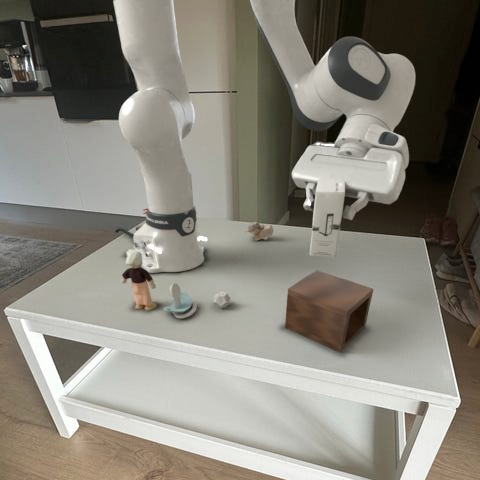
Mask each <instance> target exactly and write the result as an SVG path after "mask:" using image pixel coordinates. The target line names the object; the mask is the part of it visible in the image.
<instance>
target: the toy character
mask: <svg viewBox="0 0 480 480" xmlns="http://www.w3.org/2000/svg"><path fill="white" fill-rule="evenodd" d="M248 232H249V233H250V234H251V236H254V240H255V241H260V240H264V241H266V240H268V239H269V237H271V236H273V233H274V228H273V225H272V224H268V225H264V224H261V225H260V223H259V222H258V221H253V222H250V223H249V224H248V228H246V229H244V233H248Z"/></svg>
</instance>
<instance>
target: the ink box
mask: <svg viewBox="0 0 480 480" xmlns="http://www.w3.org/2000/svg"><path fill="white" fill-rule="evenodd" d="M345 197H346V196H345V181H339V180H331V179H319V180H318V184H317V188H316V194H315V195H314V200H315V203H314V210H313V212H312V213H313V214H312V224H311V236H310V248H309V256H310V257H311V256H312V257H324V258H336V257H337V251H338V243H339V237H340V231H341V224H342V218H343V216H342V213H343V211H344V204H345V203H344V202H345Z"/></svg>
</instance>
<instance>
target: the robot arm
mask: <svg viewBox="0 0 480 480" xmlns="http://www.w3.org/2000/svg"><path fill="white" fill-rule="evenodd" d="M249 1H250V5H251V8H252V12H253V15H254V19H255V22H256V24H257V27H258V29H259V32H260V34H261V36H262V38H263V40H264V42H265V45H266V47H267V50H268V51H269V53H270V55H271V58H272V59H273V61H274V63H275V65H276V67H277V69H278V72H279V74H280V75H281V78H282V80H283V82H284V84H285V86H286V88H287V92H288V94H289V95H288V96H289V99H290V103H291V108H292V111H293V114H294V116H295V118H296V119H297V121H298V122H299V123H300V125H302V126H303V127H304V128H306V129H308V130H311V131H313V132H322V131H326V130H328V129H329V128H331V127H332V126H333V125H334V124H335V123H336V122H337V121H338V120H339V119H340V118H341V117H342V116H343V115H345V117H346V120H345V122H344V124H343V126H342V128H341V130H340V132H339V134H338V136H337V138H336V140H335V141H334V142H323V141H316V142H315V143H313V144H310V145H308V146H307V147H306V149H305V151H304V152H303V154H302V155H301V156H300V158H299V160H298V161H297V162H296V164H295V166H294V167H293V168H292V171H291V178H292V180H293V182H294V184H295V186H296V187H298V188H299V189H305V195H306V196H305V197H306V199H305V201H304V202H303V209H304V210H305V211H309V212H314V203H315V198H314V196H315V194H316V188H317V184H318V180H319V179H331V180H339V181H345V196H344V197H348V198H353V199H357V200H355V201H354V202H353V203H352V204H351V205H345V207H344V209H343V211H342V218H343V219H346V220H349V221H353V219H354V218H355V215H356V213H358V212H359V211H360V210H362V209H363V208H365V207H366V206H367V205H368V203H369V202H373V203H374V202H375V203H381V204H385V205H392V204H393V203H394V202H396V201H397V200H398V199H399V196H400V194H401V192H402V190H403V186H404V184H405V181H406V169H407V168H408V166H409V162H410V153H409V147H408V143H407V139H406V138H405V136H403V135H400V134H399V133H398V134H397V133H396V132H394V131H395V128H396V127H397V126H398V125H399V124H400V122H401V121H402V119H403V116H404V115H405V113H406V111H407V108H408V106H409V104H410V101H411V98H412V96H413V93H414V90H415V86H416V70H415V67H414V64H413V63H412V62H411V60H409V59H408V58H407V57H406V56H405V55H402V54H399V53H389V54H388V53H387V54H384V53H381V52H379V51H377V50H376V49H375V48H374V47H373V46H372V45H370V44H369V42H367V41H366V40H364V39H362V38H361V37H360V38H359V37H356V36H344V37H341V38H339V39H337V41H335V42H334V43H333V45H332V46H331V47H330V48H329V49H328V50H327V51H326V53H325V54H324V55H323V56H322V57H321V58H320V60H319V61H318V63H317V64H316V65H315V64H314V62H313V59H312V58H311V55H310V53H309V51H308V48H307V46H306V44H305V42H304V39H303V37H302V35H301V33H300V31H299V28H298V25H297V21H296V16H295V15H296V14H295V3H296V0H249ZM112 2H113V8H114V12H115V13H114V14H115V18H116V19H115V20H116V24H117V29H118V35H119V41H120V46H121V50H122V54H123V56H124V59H125V60H126V62H127V63H128V66H130V69H131V71H132V73H133V76H134V79H135V82H136V84H137V88H138V91H136V92H135V93H133V94H132V95H131V96H129V97H128V98H127V99H126V100H125V101H124V102H123V104H122V105H121V107H120V110H119V113H118V124H119V129H120V131H121V134H122V136H123V138H124V140H126V142H127V143H128V144H129V145H130V146H131V147H132V151H133V153H134V155H135V158H136V160H137V163H138V165H139V169H140V171H141V175H142V178H143V183H144V189H145V196H146V203H147V208H144V209H142V211H143V213H142V214H143V215H145V222H144V224H141V225H139V226H136V227H135V232H134V233H132V232H130V231H128V230H127V229H125V228H122V227H117V228H116V229H115V230H114V233H117V234H118V233H119V232H123V233H124V234H125V235H127V236H129V237H131V238H133V240H132V241H133V247H131V248H129V249H128V250H127V251H126V252H125V253H126V257H127V256H128V254H129V253H130V252H132V251H135V250H136V251H139V252H140V253H141V254H142V257H143V258H142V266H141V268H143V269H145V270H147V271H148V273H149V274H156V273H177V272H178V273H179V272H186V271H189V270H193V269H195V268H197V267H199V266H200V265H202V264H203V263H204V261H205V256H204V253H205V248H204V246H202V242H201V241H204V242H207V241H208V238H207V237H206V236H201V235H200V230H199V225H198V223H197V221H198V219H197V209H196V206H195V205H194V194H193V181H192V172H191V170H190V169H189V167H188V165H187V162H186V157H185V154H184V152H183V145H182V140H184V139H185V138H186V137H187V136H188V135H189V134H190V133H191V131H192V129H193V126H194V124H195V120H196V111H195V108H194V107H195V106H194V104H193V102H192V99H191V97H190V96H191V95H190V92H189V87H188V83H187V78H186V75H185V71H184V67H183V63H182V59H181V54H180V53H181V52H180V47H179V39H178V31H177V22H176V14H175V4H174V0H112Z"/></svg>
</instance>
